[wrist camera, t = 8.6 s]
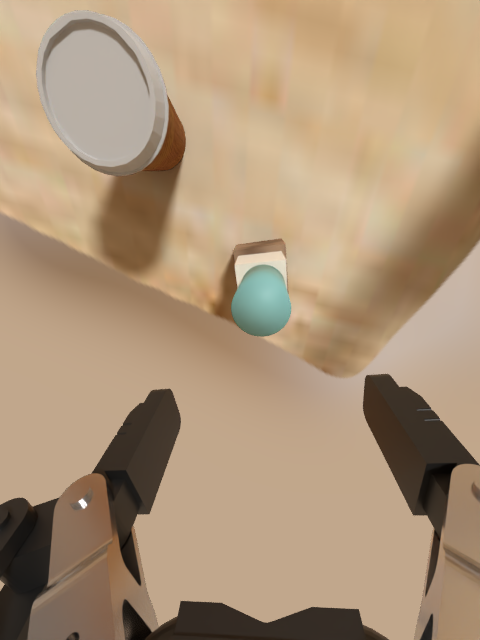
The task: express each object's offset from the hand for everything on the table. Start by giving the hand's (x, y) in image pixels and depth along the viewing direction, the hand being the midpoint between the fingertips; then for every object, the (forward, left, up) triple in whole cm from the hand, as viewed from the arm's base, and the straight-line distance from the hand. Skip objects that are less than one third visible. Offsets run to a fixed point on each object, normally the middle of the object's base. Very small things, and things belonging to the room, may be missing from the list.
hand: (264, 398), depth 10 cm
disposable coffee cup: (+10, -16, -26) cm, 32 cm away
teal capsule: (0, 0, -16) cm, 16 cm away
